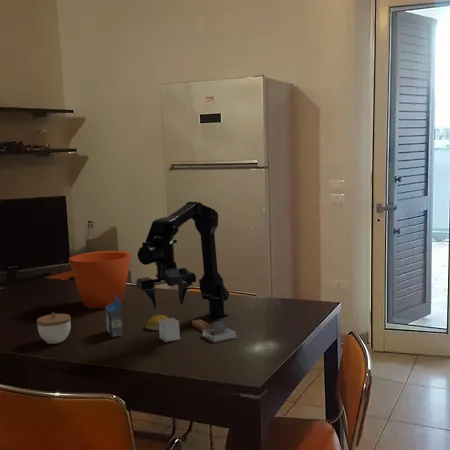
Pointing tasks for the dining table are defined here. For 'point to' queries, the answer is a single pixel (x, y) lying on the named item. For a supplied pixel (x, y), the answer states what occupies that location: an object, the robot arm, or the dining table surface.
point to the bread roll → (155, 322)
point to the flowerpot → (101, 276)
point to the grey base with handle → (214, 330)
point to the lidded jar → (54, 327)
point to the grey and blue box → (114, 318)
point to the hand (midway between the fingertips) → (168, 306)
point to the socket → (169, 329)
